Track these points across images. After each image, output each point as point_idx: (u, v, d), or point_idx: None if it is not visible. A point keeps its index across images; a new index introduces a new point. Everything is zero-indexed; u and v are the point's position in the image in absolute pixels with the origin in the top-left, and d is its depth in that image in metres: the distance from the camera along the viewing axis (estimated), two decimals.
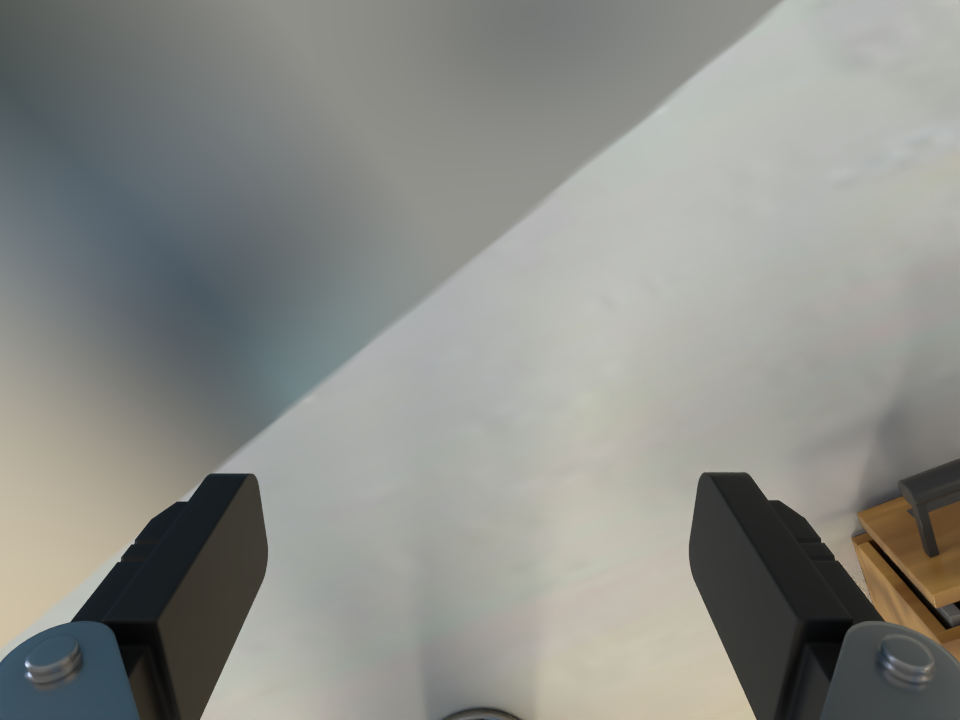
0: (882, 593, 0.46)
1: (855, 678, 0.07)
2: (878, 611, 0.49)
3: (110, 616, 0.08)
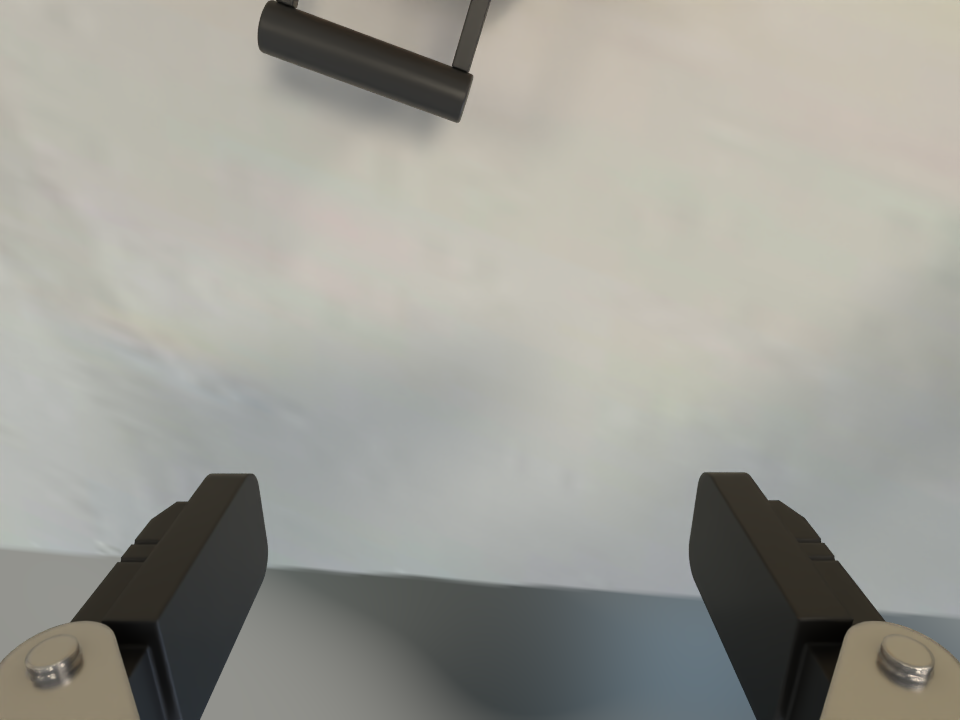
0: None
1: (855, 678, 0.07)
2: None
3: (110, 616, 0.08)
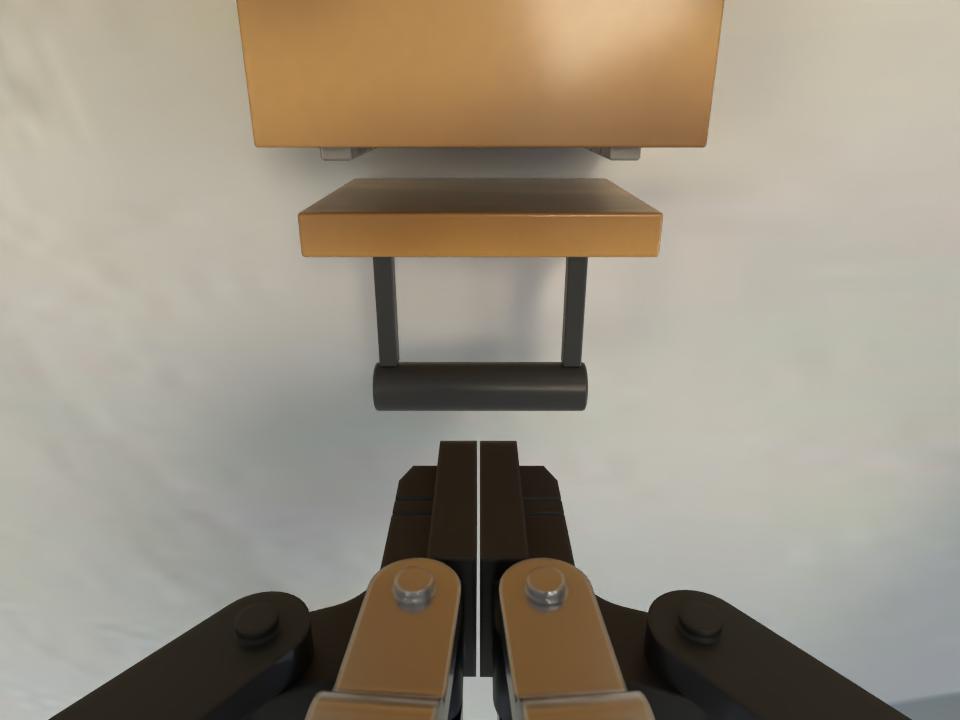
0: None
1: (520, 625, 0.08)
2: None
3: (431, 555, 0.09)
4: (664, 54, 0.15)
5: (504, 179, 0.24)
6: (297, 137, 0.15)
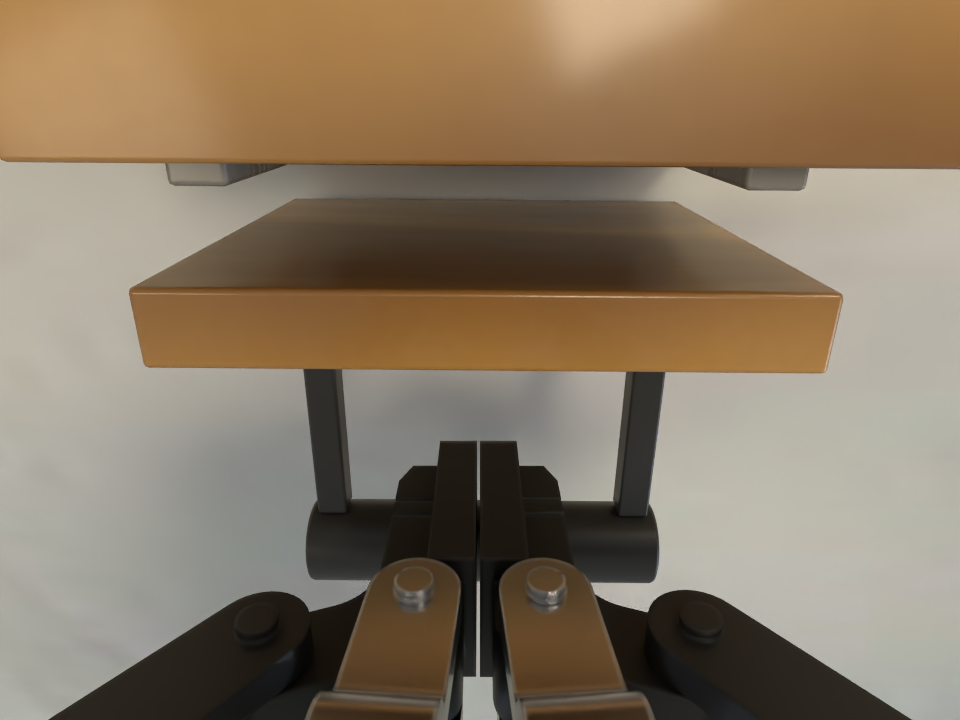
0: None
1: (521, 625, 0.08)
2: None
3: (431, 555, 0.09)
4: None
5: (521, 202, 0.16)
6: (88, 141, 0.07)
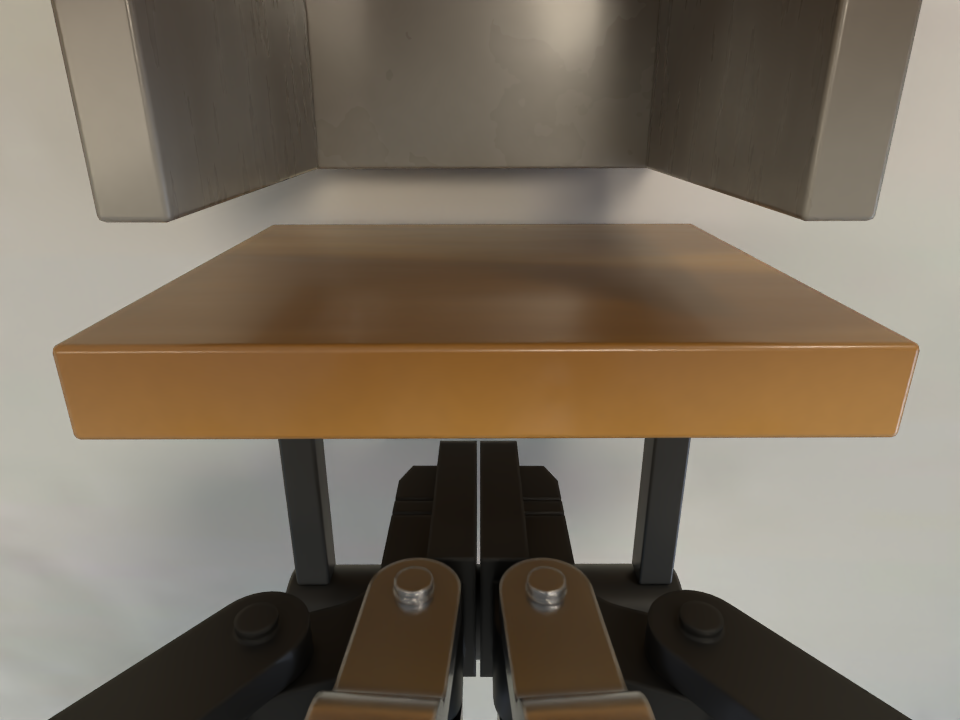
0: None
1: (521, 624, 0.08)
2: None
3: (431, 555, 0.09)
4: None
5: (523, 226, 0.14)
6: None
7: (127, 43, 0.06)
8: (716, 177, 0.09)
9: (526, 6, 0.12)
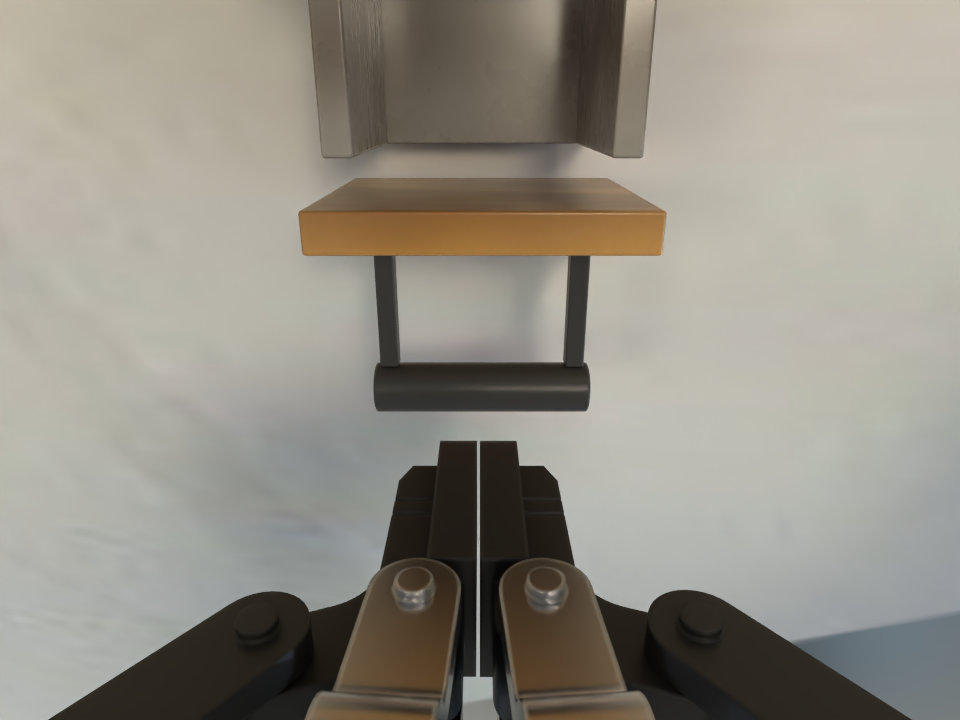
0: None
1: (521, 625, 0.08)
2: None
3: (432, 555, 0.09)
4: None
5: (505, 179, 0.24)
6: None
7: (343, 85, 0.16)
8: (595, 143, 0.19)
9: (506, 51, 0.22)
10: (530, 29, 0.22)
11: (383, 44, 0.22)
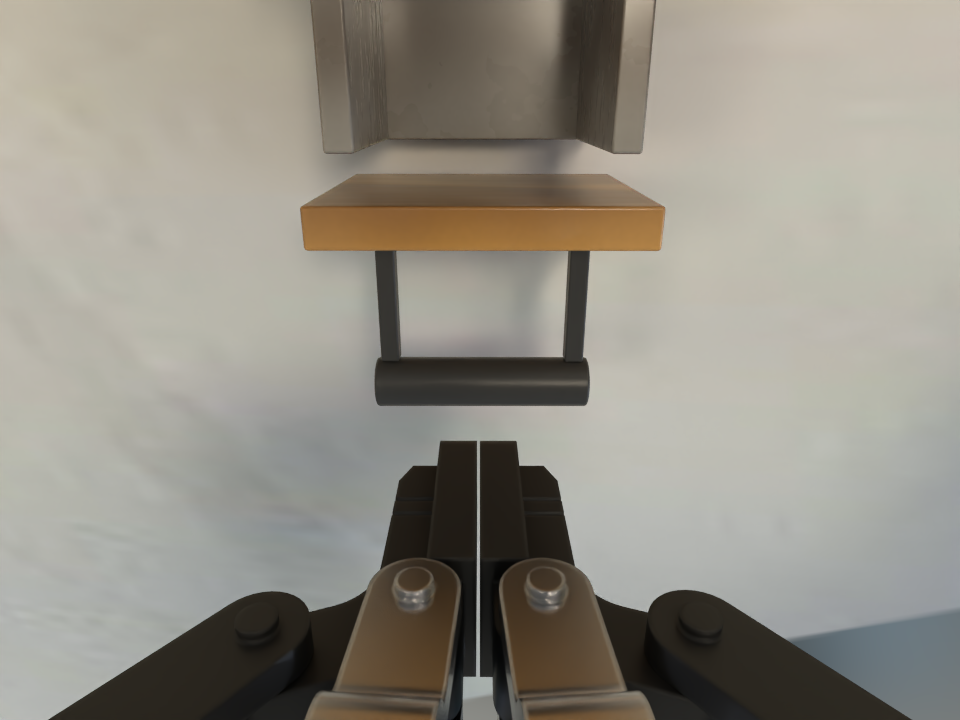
0: None
1: (520, 624, 0.08)
2: None
3: (431, 555, 0.09)
4: None
5: (506, 175, 0.24)
6: None
7: (345, 82, 0.16)
8: (595, 139, 0.19)
9: (506, 48, 0.22)
10: (530, 25, 0.22)
11: (384, 40, 0.22)
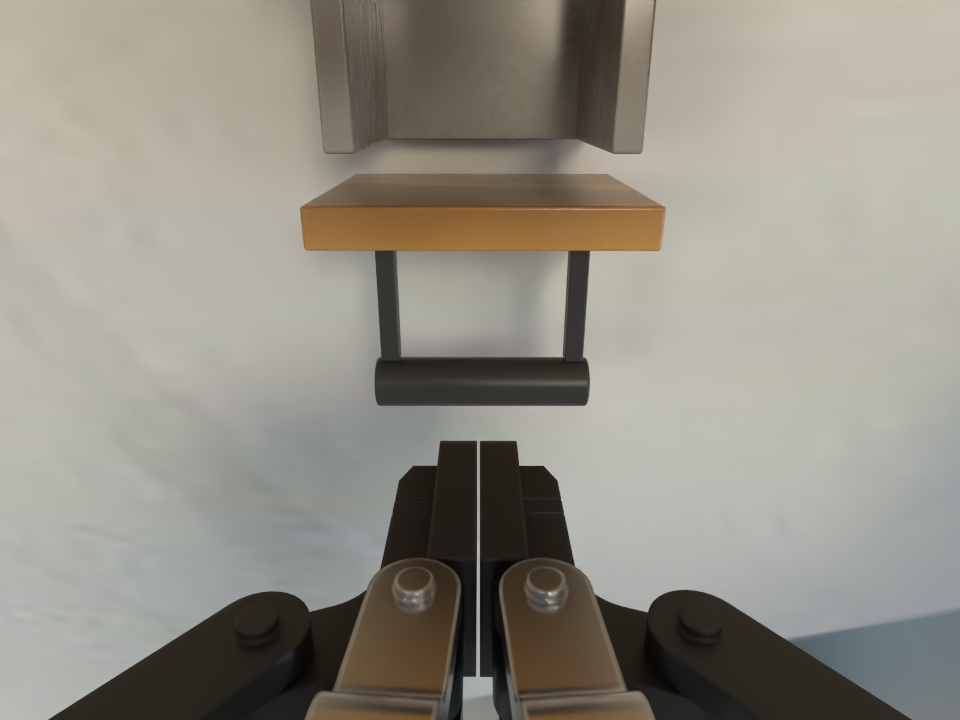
0: None
1: (520, 624, 0.08)
2: None
3: (431, 555, 0.09)
4: None
5: (506, 175, 0.24)
6: None
7: (345, 82, 0.16)
8: (595, 139, 0.19)
9: (506, 48, 0.22)
10: (530, 25, 0.22)
11: (384, 40, 0.22)
